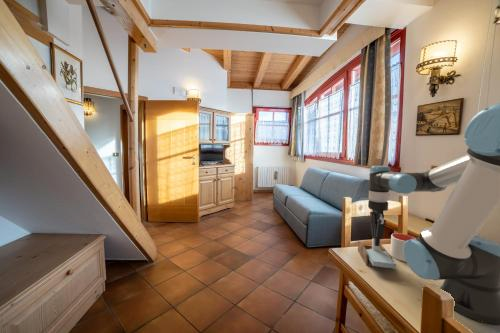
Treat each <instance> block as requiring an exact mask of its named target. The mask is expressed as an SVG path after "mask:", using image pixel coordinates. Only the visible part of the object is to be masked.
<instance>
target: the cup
mask: <svg viewBox="0 0 500 333" xmlns="http://www.w3.org/2000/svg"><path fill="white" fill-rule="evenodd" d="M410 239H417V238H416V237H414V236H412V235H409V234H406V233H405V234H404V233H400V232H398V233H397V232H396V233H392V234H391V235H390V249H389V250H390V251H389V252H390V253H389V254H390V255H391V257H392V258H394V259H395V260H398V261H401V262H405V263H407V262H406V260H405V256H404V253H403V246H404V243H405V242H406V241H407V240H410Z"/></svg>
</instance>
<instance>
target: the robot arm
mask: <svg viewBox="0 0 500 333" xmlns="http://www.w3.org/2000/svg"><path fill="white" fill-rule="evenodd" d="M463 134H464V135H463V137H464V138H465V139H466V140H464V142H465V145H466V146H467V150H466V152H465V153H466V154H465V155H463V156H460V157H458V158H455V159H453V160H451V161H450V160H449V162H446V163H443V164H441V165H439V166H436V167H434V168H432V169H429V170H427V171H424V172H395V171H394V172H393V171H391V167H390V166H387V165H371V167H370V168H369V178H368V179H369V183H368V185H369V186H368V203H367V205H368V208H369V209H370V210H371V211H370V212H369V215H370V234H371V236H372V237H371V238H372V240H371V246H372V250H378V251H380V244H381V240H383V238H384V231H385V225H386V223H387V220H386V219H384V218H385V214H384V212H386V211H388V210H389V202H388V201H389V197H390V191H391V192H394V193H397V194H403V195H405V194H407V195H408V194H410V193H413V192H414V193H418V192H420V193H422V192H423V193H424V192H431V193H436V192H441V191H445V190H446V189H447V187H448V186H453V185H455V184H456V185H455V186H454V188H453V190H452V192H451V193H450V195H449V196H448V199H447V200H446V202H445V204H444V205H443V207H442V208H441V210H440V212H439V214H438V215H437V217H436V219H435V221H434V222H433V223H432V226H431V227H429V226H428V227H424V228H423V229H422V230H421V232H420V233H419V235H418V237H417V238H416V239H410V240H407V241H406V242H405V243H404V246H403V253H404V256H405V260H406V262H405V263H407V265H408V267H409V268H410V270H411V271H412V272H413V273H414V274H415V275H417V276H418V277H419V278H421V279H424V280H433V281H441V280H443V283H442V284H441V286H440V287H439V290H440V289H442V290H444V291H446V292H448V293H450V294H451V296H452V297H453V298H454V301H455V306H454V310H453V311H456V312H457V313H458V314H461V315H463V316H465V317H467V318H470V319H473V320H474V319H475V321H477V320H479V321H478V322H480V321H483V322H482V323H484V322H486V323H485V324H488V323H490V324H489V325H498V326H499V325H500V243H499V242H496V241H494V240H491V239H490V238H486V237H484V236H481V235H480V236H479V235H477V234H478V232H479V231H480V230H481V228H483V226H484V224H486V222H487V220H488V219H489V218H490V217H491V215H492V214H493V213H494V211H495V210H496V209H497V207H498V206H499V204H500V102H499V103H495V104H492V105H490V106H488V107H485V108H484V109H481V110H480V111H479V112H477V113H476V114H475V115H474V116H473V117H472V118H471V119H470V120H469V122H468V123H467V125H466V126H465V129H464V133H463Z"/></svg>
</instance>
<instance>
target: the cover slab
mask: <svg viewBox="0 0 500 333" xmlns="http://www.w3.org/2000/svg"><path fill="white" fill-rule="evenodd" d="M386 251H387V250H386ZM386 251H378V250H369V249H366V252H367V254H368V258H369V260H370V261H371V263H372V265H373V266H372V267H376V266H378V268H384V267H386V268H385V269H395V270H396V262H395V261H394V260H393V259H392V258H393V257H392V256H391V257H392V258H391V257H390V256H389V255H388V253H389V252H388V251H387V252H388V253H387V252H386Z"/></svg>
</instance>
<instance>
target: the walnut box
mask: <svg viewBox="0 0 500 333" xmlns="http://www.w3.org/2000/svg"><path fill="white" fill-rule="evenodd" d="M366 249H372V244H371V245H369V244H362V243H361V241H358V242H357V252H358V254H359V256H360V257H361V258H362V261H363V263H364V265H366V266H369V267H374V266H373V265H372V263H371V261H370V260H369V258H368V254H367V252H366ZM380 251H386V252H387V253H388V255H389V256H390V257H391V258H392V260H393V258H394V257H393V256H392V255H391V253H389V252H388V251H387V249H386V248H385V247H384V246H383V244H381V243H380ZM375 267H378V266H375ZM378 268H379V267H378ZM383 268H385V269H387V268H386V267H383Z"/></svg>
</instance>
